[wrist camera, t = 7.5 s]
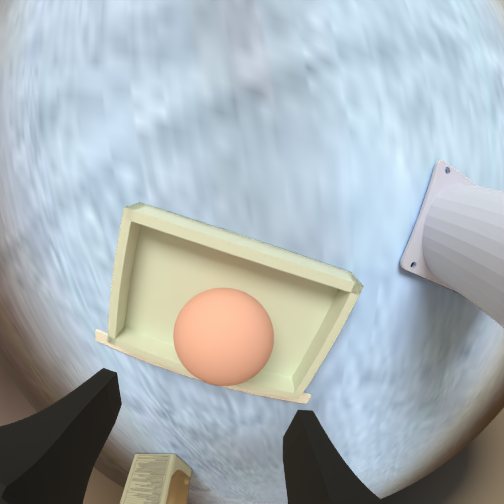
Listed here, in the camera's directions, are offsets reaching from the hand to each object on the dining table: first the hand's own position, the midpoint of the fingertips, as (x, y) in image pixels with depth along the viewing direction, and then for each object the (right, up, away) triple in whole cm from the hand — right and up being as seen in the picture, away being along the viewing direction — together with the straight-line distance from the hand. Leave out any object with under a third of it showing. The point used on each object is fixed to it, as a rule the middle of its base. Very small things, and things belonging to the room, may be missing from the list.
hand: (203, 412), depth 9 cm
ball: (0, +2, +5) cm, 6 cm away
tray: (0, +3, +8) cm, 9 cm away
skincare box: (-9, -19, +15) cm, 26 cm away
